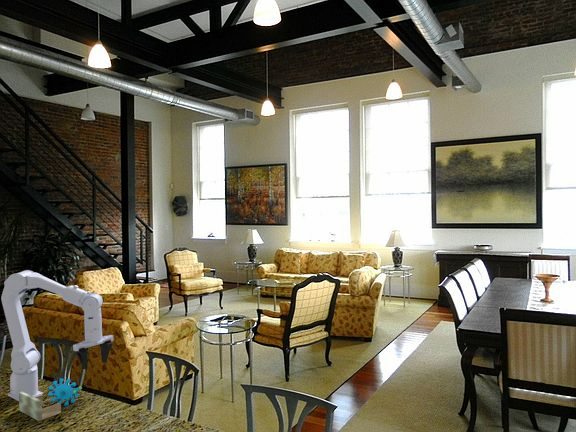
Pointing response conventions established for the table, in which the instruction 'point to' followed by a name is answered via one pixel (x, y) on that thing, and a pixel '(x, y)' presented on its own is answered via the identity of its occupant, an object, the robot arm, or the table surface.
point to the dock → (36, 407)
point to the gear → (64, 392)
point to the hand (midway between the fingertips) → (94, 365)
